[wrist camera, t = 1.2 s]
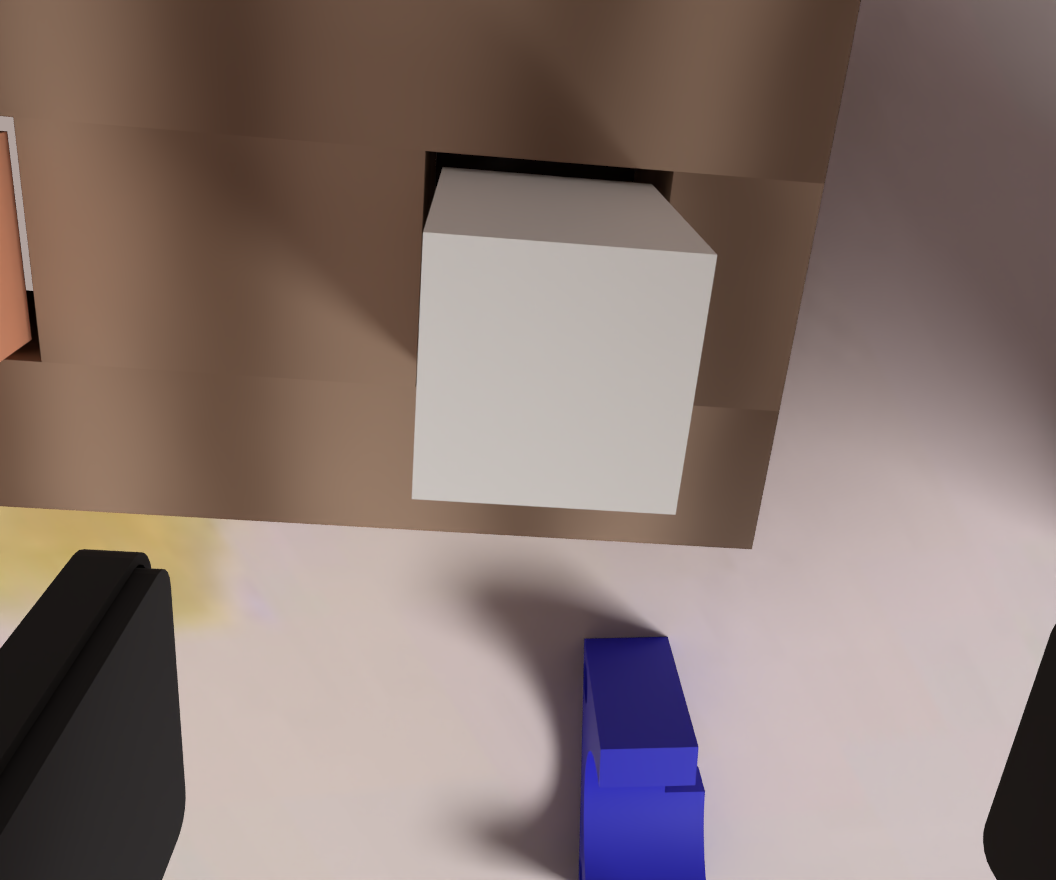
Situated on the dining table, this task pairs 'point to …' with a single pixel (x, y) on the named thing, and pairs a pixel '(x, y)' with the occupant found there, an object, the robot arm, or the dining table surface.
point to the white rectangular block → (557, 343)
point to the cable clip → (638, 766)
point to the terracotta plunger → (10, 264)
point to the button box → (374, 235)
